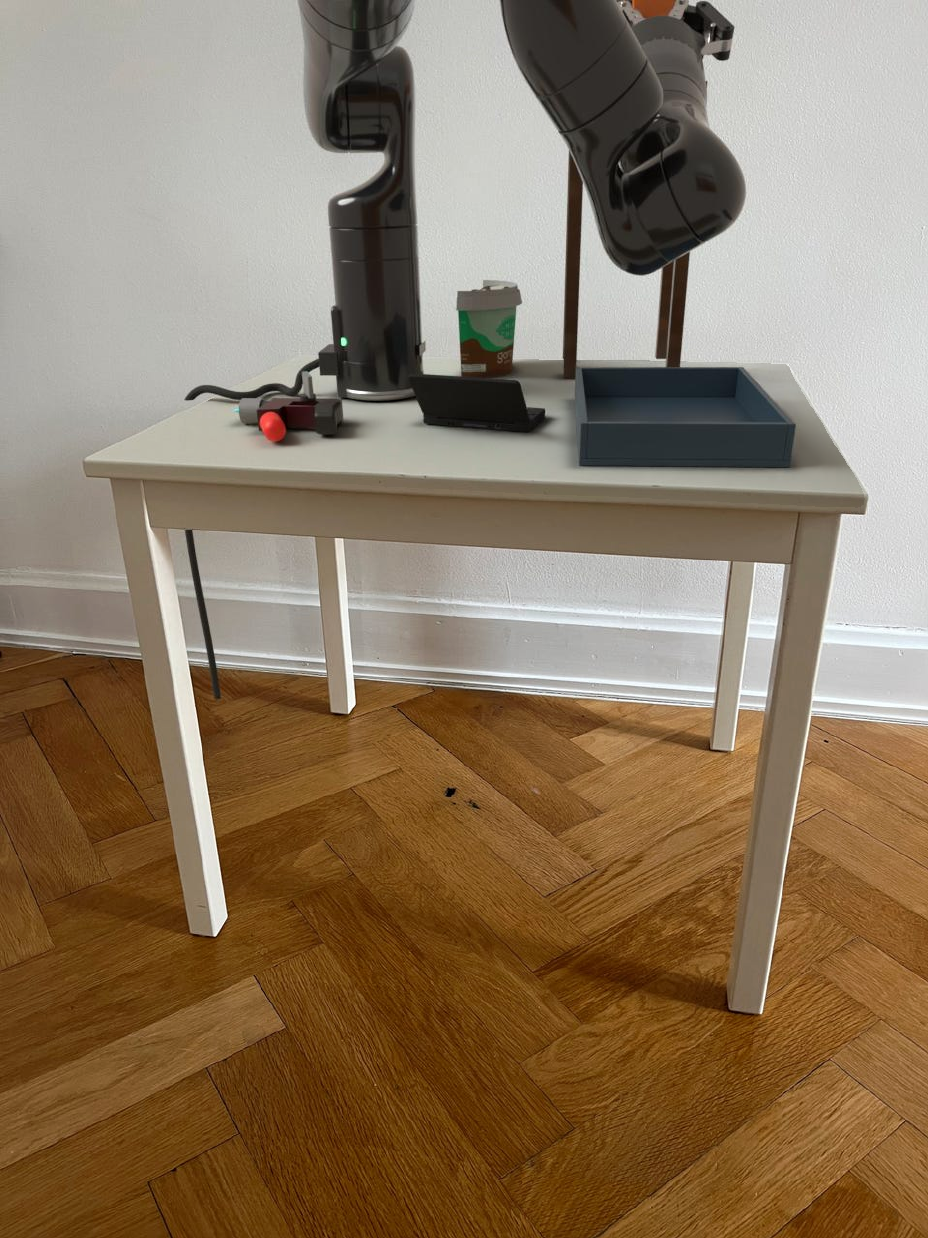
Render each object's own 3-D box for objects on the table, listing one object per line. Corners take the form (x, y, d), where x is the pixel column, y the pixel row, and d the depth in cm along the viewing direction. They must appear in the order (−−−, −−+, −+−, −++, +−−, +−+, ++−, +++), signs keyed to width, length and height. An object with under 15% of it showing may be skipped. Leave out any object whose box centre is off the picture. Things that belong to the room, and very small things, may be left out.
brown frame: (561, 378, 106) (569, 84, 93) (560, 356, 119) (568, 94, 105) (681, 378, 105) (707, 80, 92) (668, 356, 117) (689, 90, 104)
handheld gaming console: (547, 395, 91) (528, 324, 82) (545, 453, 88) (525, 386, 79) (438, 408, 94) (409, 340, 85) (432, 464, 91) (401, 401, 82)
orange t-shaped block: (666, 48, 98) (668, 15, 97) (693, 18, 79) (696, -23, 78) (602, 50, 99) (603, 18, 98) (613, 21, 80) (614, -20, 79)
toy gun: (240, 418, 92) (234, 370, 90) (354, 420, 90) (350, 371, 88) (202, 444, 84) (194, 392, 81) (327, 447, 82) (322, 393, 80)
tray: (579, 465, 75) (580, 423, 74) (574, 401, 96) (575, 367, 94) (789, 467, 74) (796, 423, 72) (739, 401, 94) (743, 366, 93)
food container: (508, 382, 105) (508, 292, 100) (457, 380, 107) (455, 291, 102) (531, 362, 116) (532, 279, 111) (484, 360, 117) (484, 279, 113)
